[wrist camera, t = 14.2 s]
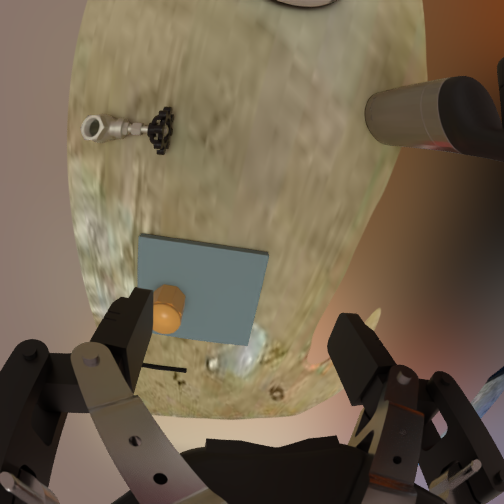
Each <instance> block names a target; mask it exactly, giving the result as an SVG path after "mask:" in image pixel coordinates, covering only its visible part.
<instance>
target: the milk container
mask: <svg viewBox="0 0 504 504" xmlns="http://www.w3.org/2000/svg"><path fill="white" fill-rule="evenodd" d="M277 1H279V2H283V3H287V4H290V5H295V6H306V7H315V6H323V5H327V4H330V3H333V2H335V1H337V0H277Z"/></svg>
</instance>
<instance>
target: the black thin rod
mask: <svg viewBox="0 0 504 504" xmlns="http://www.w3.org/2000/svg"><path fill="white" fill-rule="evenodd" d="M142 367H145V368H151V369H157V370H166V371H176V372H183V373H186V368H176V367H165V366H160V365H153V364H145V363H143V364H142Z"/></svg>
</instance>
